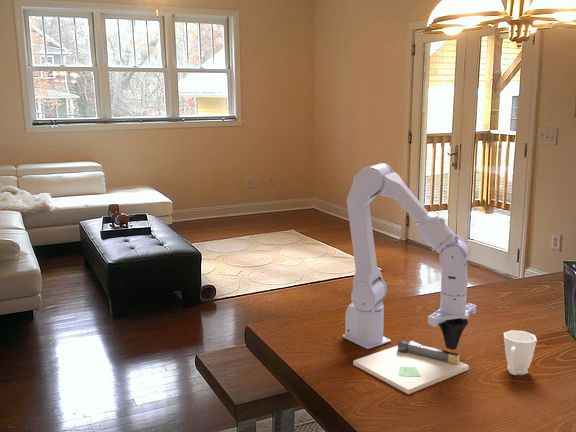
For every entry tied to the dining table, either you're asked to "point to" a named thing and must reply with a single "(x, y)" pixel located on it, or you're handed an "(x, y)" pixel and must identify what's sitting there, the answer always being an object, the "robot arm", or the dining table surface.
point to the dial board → (408, 369)
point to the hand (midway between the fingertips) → (451, 348)
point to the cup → (519, 351)
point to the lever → (428, 352)
